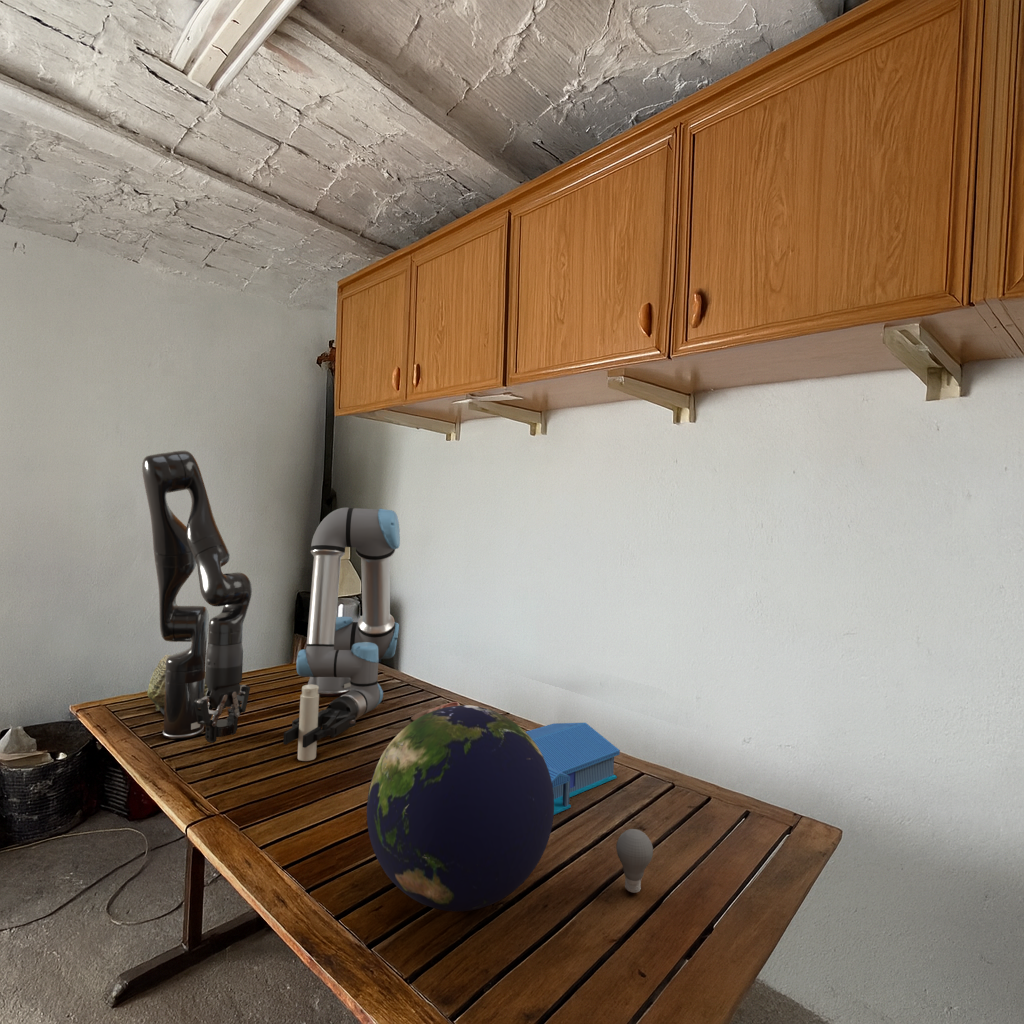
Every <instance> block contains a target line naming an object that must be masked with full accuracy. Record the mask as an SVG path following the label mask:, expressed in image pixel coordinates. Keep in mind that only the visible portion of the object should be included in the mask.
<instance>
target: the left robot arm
mask: <svg viewBox="0 0 1024 1024" xmlns="http://www.w3.org/2000/svg"><path fill="white" fill-rule="evenodd" d="M141 473H142V479H143V484H144V489H145V495H146V499H147V504H148V505H147V506H148V509H149V515H150V523H151V534H152V546H153V547H152V548H153V557H154V564H155V565H154V566H155V572H156V577H157V586H158V603H159V605H158V606H159V609H158V610H159V631H160V635H161V637H162V639H163V641H165V642H168V643H169V642H171V643H180V642H181V643H190V647H189V648H187V649H185V650H182V651H180V652H176V653H174V654H170V655H171V656H170V657H168V658H167V660H166V674H165V705H164V708H160V712H161V714H162V715H163V730H162V737H164V738H166V739H169V740H185V739H190V738H191V739H192V738H194V737H197V736H199V735H202V734H203V732H204V730H205V736H204V738H205V741H206V742H207V743H210V744H214V743H216V742H217V738H218V737H217V725H216V724H217V721H218V720H219V717H220V716H221V715H222V713H223V710H224V709H225V710H226V714H227V717H226V719H229V720H233V721H234V732H233V734H231V736H234V735H236V734H237V731H238V723H239V722H238V720H239V717H240V715H241V714H242V713H243V714H244V713H246V710H247V705H248V701H249V695H250V692H251V686H249V685H245V684H241V683H242V681H243V667H244V666H243V665H244V664H243V662H244V648H243V647H244V646H243V632H244V631H243V629H244V622H245V618H246V616H247V612H248V609H249V607H250V603H251V599H252V596H253V595H252V594H253V586H252V583H251V582H252V581H251V580H250V578H249V577H248V575H246V574H245V573H243V572H228V573H224V572H223V571H222V567H224V566H226V565H227V564H228V563H229V561H230V559H231V555H230V552H229V549H228V548H227V547H228V546H227V545H226V543H225V541H224V539H223V536H222V535H221V532H220V530H219V528H218V524H217V523H216V520H215V516H214V513H213V509H212V506H211V503H210V500H209V499H210V498H209V495H208V493H207V489H206V486H205V483H204V479H203V475H202V472H201V469H200V466H199V464H198V461H197V460H196V458H195V456H194V455H193V454H192V453H191V452H190V451H188V450H176V451H168V452H163V453H155V454H149V455H146V456H145V457H144V458H143V460H142V465H141ZM180 491H188V493H189V495H190V499H191V507H190V512H189V517H188V520H187V524H186V525H185V523H183V522H182V520H180V519H179V518H178V517H177V516H176V515H175V514H174V512H173V511H172V509H171V508H170V506H169V504H168V501H167V494H170V493H175V492H180ZM196 567H197V574H198V582H199V583H198V584H199V590H200V594H201V596H202V598H203V600H204V601H205V602H206V603H207V604H208V605H210V606H212V607H222V610H221V612H220V613H218V614H216V615H215V616H213V617H211V618H210V617H209V616H210V615H209V610H208V608H207V607H206V606H205V605H178V604H177V596H178V594H179V593H180V591H181V589H182V587H183V586H184V585H185V583H186V582H187V580H188V579H189V578H190V577H191V575H192V574H193V573H194V570H195V569H196ZM205 672H206V677H205ZM205 683H206V685H207V687H208V690H207V693H206V696H205V697H204V693H205ZM208 702H209V703H208ZM214 709H215V710H214ZM204 727H205V729H204Z"/></svg>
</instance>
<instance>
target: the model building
mask: <svg viewBox="0 0 1024 1024" xmlns="http://www.w3.org/2000/svg"><path fill="white" fill-rule="evenodd" d="M525 732H526V733H527V734H528V735H529V736H530V737H531V739H532V740H533V741H534V742H535V744H536V745H537V747H538V748H539V750H540V752H541V753H542V755H543V757H544V760H545V763H546V765H547V767H548V770H549V774H550V777H551V782H552V786H553V794H554V816H555V815H557V814H559V813H562V812H563V811H566V810H569V809H571V808H572V805H571V804H570V798H572V797H575V796H577V795H580V794H582V793H585V792H587V791H589V790H591V789H594V788H597V787H599V786H601V785H603V784H605V783H609V782H610V781H613V780H615V779H617V778H618V776H617V775H616V774H614V771H615V770H614V768H615V767H614V765H615V757H617V756H620V754H621V750H620V749H619V748H618V747H617V746H616V745H614V744H613V743H612V742H611V741H610V740H607V738H605V737H604V736H603V735H601V734H600V733H599V732H598V731H597V730H596V729H594V728H593V727H592V726H591V725H589V724H588V723H587V722H560V723H559V722H558V723H555V722H554V723H550V724H546V725H544V726H543V725H542V726H540V727H537V728H533V729H530V730H526V731H525Z"/></svg>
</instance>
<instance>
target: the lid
mask: <svg viewBox="0 0 1024 1024" xmlns="http://www.w3.org/2000/svg"><path fill="white" fill-rule="evenodd" d="M216 725H217V738H224V737H228V736H230V735H231V734H233V732H234V721H233V720H229V719H227V718H225V719H224V718H223V719H222V718H221V719H218V721H217V724H216ZM231 736H232V735H231Z"/></svg>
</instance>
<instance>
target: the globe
mask: <svg viewBox="0 0 1024 1024" xmlns="http://www.w3.org/2000/svg"><path fill="white" fill-rule="evenodd" d="M368 788H369V789H368V794H367V801H366V822H367V832H368V836H369V840H370V844H371V847H372V851H373V853H374V855H375V857H376V859H377V861H378V864H379V865H380V867H381V869H382V870H383V872H384V873H385V875H386V876H387V877H388V878H389V880H390V881H391V883H393V884H394V885H395V886H396V887H397V888H398V890H400V891H401V892H402V893H404V894H405V895H406V896H408V897H409V898H410V899H412V900H413V901H415V902H417V903H419V904H421V905H424V906H426V907H428V908H429V907H430V908H431V909H436V910H439V911H445V912H455V913H456V912H471V911H475V910H479V909H483V908H486V907H489V906H491V905H494V904H496V903H499V902H500V901H502V900H503V899H505V898H506V897H508V896H509V895H511V894H512V893H514V892H515V891H516V890H517V889H518V888H519V887H520V886H522V885H523V884H524V882H526V880H527V879H528V878H529V877H530V875H532V873H533V871H534V870H535V869H536V867H537V866H538V864H539V863H540V860H541V859H542V857H543V855H544V853H545V850H546V848H547V846H548V843H549V841H550V837H551V833H552V827H553V823H554V816H555V815H554V794H553V786H552V782H551V777H550V774H549V770H548V767H547V765H546V763H545V760H544V757H543V755H542V753H541V752H540V750H539V748H538V747H537V745H536V744H535V742H534V741H533V740H532V739H531V737H530V736H529V735H528V734H527V733H526V731H525V730H524V729H523V728H522V727H521V726H520V725H518V723H516V722H514V721H513V720H512V719H510V718H508V717H507V716H505V715H503V714H501V713H499V712H497V711H494V710H493V709H489V708H485V707H482V706H477V705H469V704H468V705H467V704H465V705H460V706H451V707H445V708H441V709H438V710H435V711H432V712H430V713H427V714H425V715H423V716H421V717H419V718H418V719H416V720H415V721H413V720H412V721H411V722H409V724H407V725H406V726H405V727H404V728H402V729H401V731H399V733H398V734H396V736H395V737H394V738H393V739H392V740H391V741H390V742H389V743H388V745H387V747H385V749H384V751H382V754H381V755H380V758H379V760H378V762H377V763H376V766H375V769H374V771H373V774H372V777H371V780H370V783H369V787H368Z"/></svg>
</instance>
